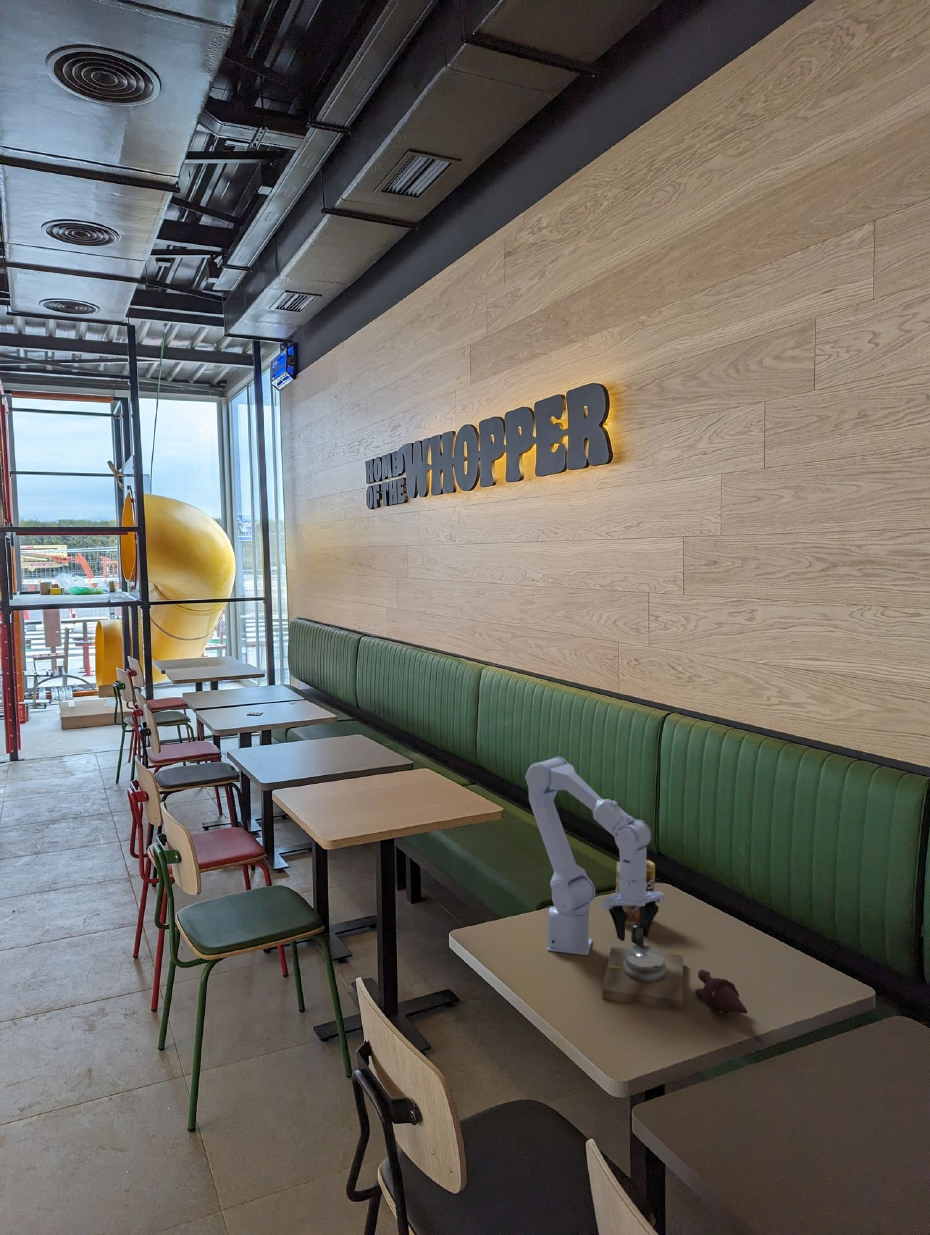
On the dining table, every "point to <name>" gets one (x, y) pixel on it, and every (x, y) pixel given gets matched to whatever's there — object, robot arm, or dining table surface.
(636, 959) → the grey disc with handle
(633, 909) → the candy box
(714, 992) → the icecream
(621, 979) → the lock base
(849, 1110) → the dining table surface
